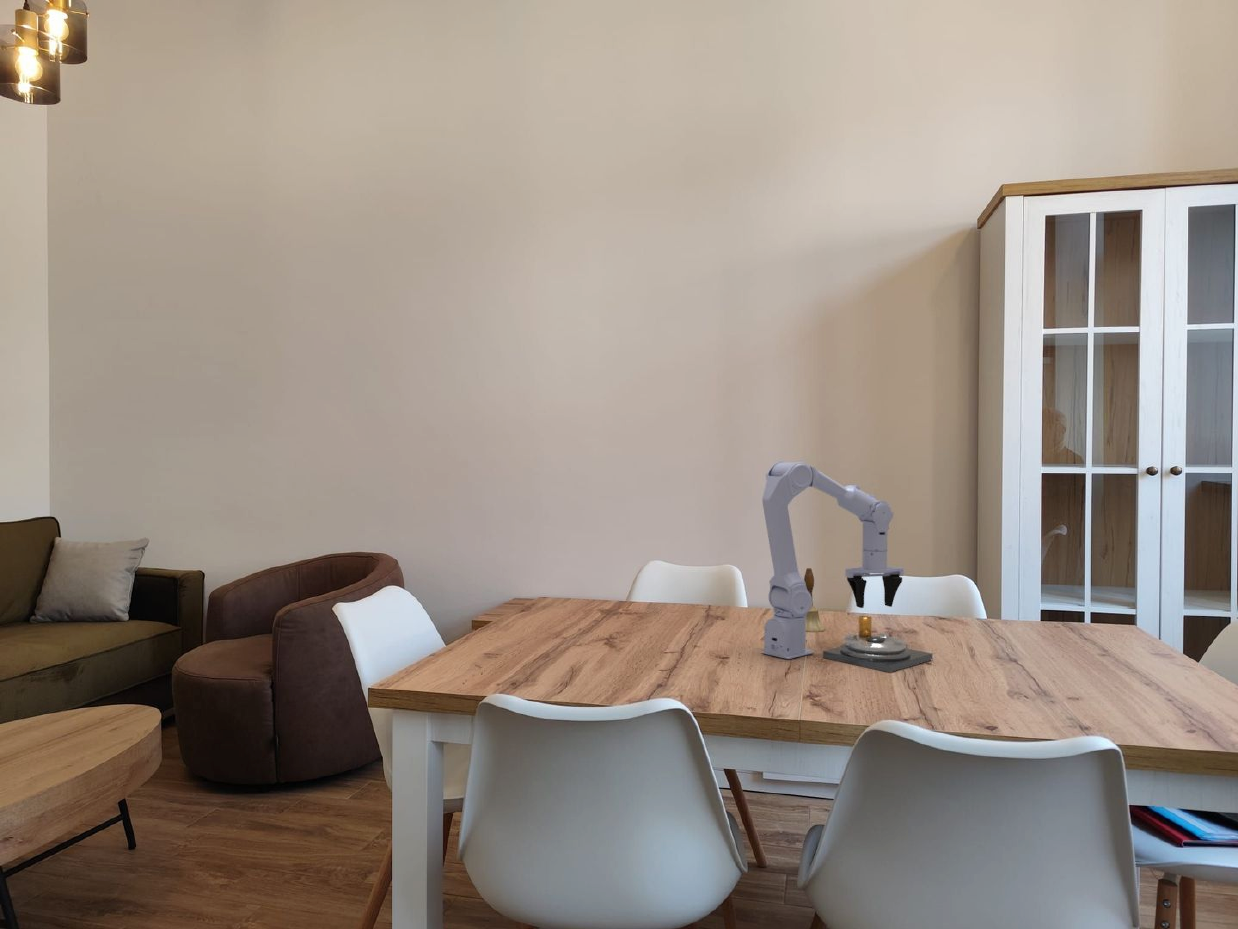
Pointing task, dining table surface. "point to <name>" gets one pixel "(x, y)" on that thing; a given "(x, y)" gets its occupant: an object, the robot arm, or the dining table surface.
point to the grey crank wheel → (873, 640)
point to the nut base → (878, 658)
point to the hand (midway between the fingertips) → (874, 606)
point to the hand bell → (812, 616)
